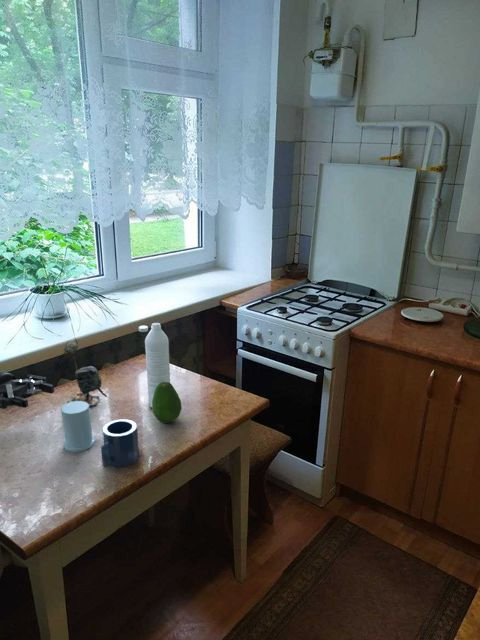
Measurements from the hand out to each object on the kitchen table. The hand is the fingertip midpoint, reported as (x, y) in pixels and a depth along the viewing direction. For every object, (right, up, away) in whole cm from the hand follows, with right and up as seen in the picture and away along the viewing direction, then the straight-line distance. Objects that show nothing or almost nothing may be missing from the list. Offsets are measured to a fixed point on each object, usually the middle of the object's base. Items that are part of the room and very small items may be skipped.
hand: (40, 396), depth 125 cm
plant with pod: (+5, -4, +20) cm, 21 cm away
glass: (+10, -12, 0) cm, 15 cm away
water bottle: (+25, -5, +20) cm, 33 cm away
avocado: (+30, -8, +12) cm, 33 cm away
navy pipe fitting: (+22, -15, -6) cm, 27 cm away
